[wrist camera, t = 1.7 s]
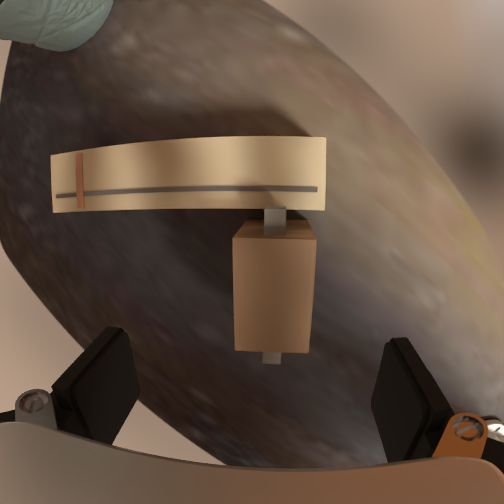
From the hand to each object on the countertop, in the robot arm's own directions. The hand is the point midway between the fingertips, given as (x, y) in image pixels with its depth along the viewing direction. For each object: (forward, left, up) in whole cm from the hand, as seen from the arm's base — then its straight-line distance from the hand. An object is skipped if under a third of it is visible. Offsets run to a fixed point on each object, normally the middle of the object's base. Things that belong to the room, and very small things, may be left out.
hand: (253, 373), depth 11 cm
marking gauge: (0, 0, -15) cm, 15 cm away
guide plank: (+7, -7, -15) cm, 17 cm away
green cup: (+19, -24, -15) cm, 33 cm away
